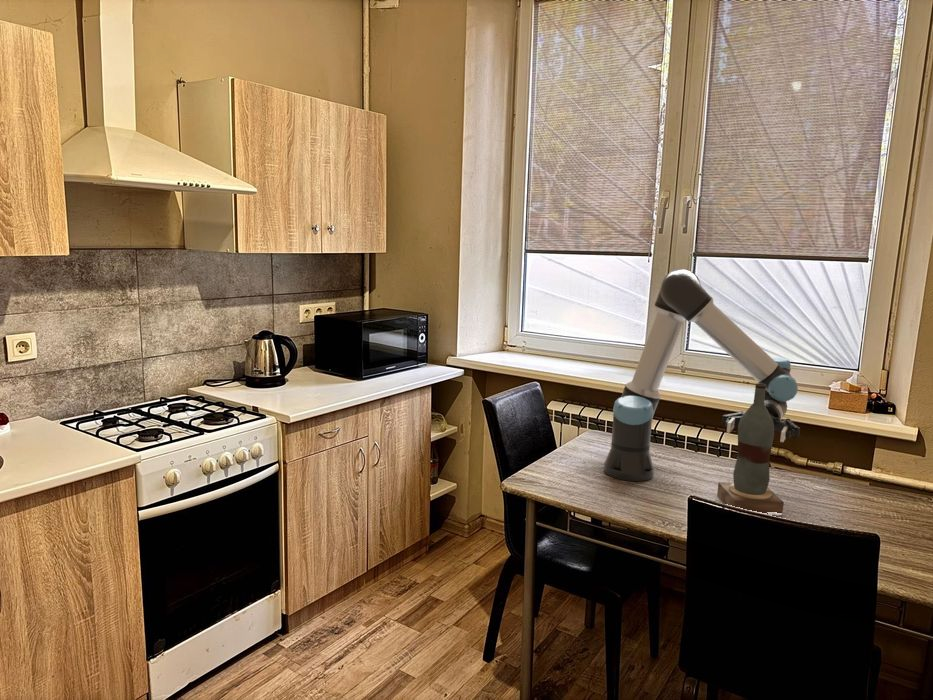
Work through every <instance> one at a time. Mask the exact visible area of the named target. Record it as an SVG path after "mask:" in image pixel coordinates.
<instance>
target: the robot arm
mask: <svg viewBox="0 0 933 700" xmlns="http://www.w3.org/2000/svg"><path fill="white" fill-rule="evenodd" d="M654 308H655V310H656V314H655V317H654V319H653V323H652V325H651V327H650V328H651V329H650V331H649V334H648V335H647V336H648V337H647V338H646V342H645V344H644V347H643V350H642V353H641V354H640V355H641V356H640V358H639V361H638V363H637V366H636V369H635V373H634V374H633V376H632V379H631V381H629V382H627V383H625V385H624V389H623V390H622V394H621V397H618V398H617V399H616V400H615V401H614V403H613V404H614V405H613V409H612V412H613V418H612V431H611V443H610V444H611V445H610V449H609V451H608V454H607V456H606V458H605V461H604V465H603V472H604V473H605V474H606V475H608V476H609V477H612V478H614V479H617V480H621V481H627V482H628V481H629V482H644V481H648V480H651V479H653V477H654V471H655V470H654V469H655V468H654V464H653V460H652V455H651V452H650V451H651V449H650V448H651V437H652V436H651V435H652V423H653V420H654V419H653V418H654V415H655V411H656V409H657V407H658V405H659V402H660V398H661V394H660V392H659V388H660V385H661V383H662V379H663V377H664V374H665V372H666V369H667V367H668V364H669V361H670V359H671V356H672V353H673V351H674V348H675V345H676V343H677V340H678V337H679V335H680V332H681V329H682V327H683V324H684V322H685V321H687V322H688V323H694V324H695V325H697V326H698V328H700V329H701V331H703V332H704V333H705V334H706V335H707V336H708V337H709V338H710V339H712V340H713V341H714V342H715V343H716V344H717V345H718V346H719V347H720V348H721V349H722V350H723V351H724V352H725V353H726V354H727V355H729V356H730V358H732V359H733V360H734V361H735V362H736V363H737V364H738V365H739V366H740V367H742V369H743V370H745V372H747V374H749V375H750V376H751V377H752V378H753V379H754V380H756V382H757V383H760V384H765V385H766V389H765V400H764V405H765V406H766V408H767V410H768V412H769V414H770V416H771V417H772V419H773V423H774V431H777V432H779V433H780V441H779V442H780V443H784V442H785V440H786V438H791V437H792V436H793V437H795V438H799V437H800V431H801V427H799V426H798V425H797V424H795V423H794V422H793V421H791V419H790V418H785V419H784V420H782V419H783V417H784V416H785V414H786V413H787V411H788V403H787V402H789V401H790V400H793V399H794V398H795V397H796V396H797V394H798V390H799V388H798V383H797V380H796V379H795V378H794V377H793V376H792V375H791V371H792V369H791V361H790V360H789V359H786V358H782V357H781V358H780V357H771V356H770V355H769V354H768V353H767V352H766V351H765V350H764V349H762V348H761V347H760V345H758V344H757V343H756V342H755V340H753V339H752V338H751V337H750V336H748V335H747V333H745V332H744V331H743V329H741V328H740V327H739V326H738V325H737V323H735V322H734V321H732V319H730V318H729V317H728V315H726V314H725V313H724V312H723V311H722V310H721V309H720V308H719V307H717V305H715V303H714V298H713V296H711V295H710V294H709V293H708V292H707V290H706V289H705V288H704V287H703V286H702V284H701V281H700V278H699V277H698V276H697V275H696V273H694V272H693V271H690V270H688V269H684V268H678V269H674V270H672V271H670V272H669V273H667V274H666V275H665V276H664V278H663V279H662V282H661V286H660V289H659V291H658V294H657V297H656V301H655V303H654ZM744 413H745V411H742V410H740V411H738V412H735V413H728V414H723V415H722V416H721V425H724V426H725V427H726V433H727V434H728V433H731V432H732V430H734V428H735V427H739V422H740V419H741V417H742V416H743V414H744Z"/></svg>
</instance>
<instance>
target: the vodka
mask: <svg viewBox="0 0 933 700" xmlns="http://www.w3.org/2000/svg"><path fill="white" fill-rule="evenodd" d="M754 385H755V389H754V398H753V402H752V404H751V405H750V407H748V408H747V410H746V411H744V414H743V416H742V417H741V419H740V422H739V426H737V457H736V461H735V465H734V469H733V474H732V475H733V483H734V487H735V489H736V490H738V491H739V492H742V493H745V494H751V495H762V494H764V493H765V492H766V490H767V488H769V484H770V480H771V479H770V457H771V452H772V448H773V443H774V442H773V441H774V438H775V430H774V423H773V419H772V417H771V416H770V414H769V412H768V410H767V408H766V406H765V405H764V400H765V389H766V385H765V384H760V383H759V382H757V383H755V384H754Z"/></svg>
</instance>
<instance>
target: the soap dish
mask: <svg viewBox="0 0 933 700" xmlns="http://www.w3.org/2000/svg"><path fill="white" fill-rule="evenodd" d="M716 496H717V497H718V498H719V499H720V498H721V499H720V501H721V502H722V503H723V504H724V503H725V504H728V505H732V506H735V507H740V508H743V509H747V510H752V511H757V512H762V513H767V512H777V513H783V514H784V505H785V503H784V501H783V500H782V499H781V498H780V497H779V496H778V495H777V494H776V493H775V492H774V491H772V490H771V489H770V487H768V488H767V490H766V492H765V493H764V494H762V495H751V494H745V493H742V492H739V491H738V490H736V489H735V487H734V482H725V481H724V482H723V481H719V482H718V484H717V495H716ZM725 504H724V505H725ZM767 514H768V513H767Z"/></svg>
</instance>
